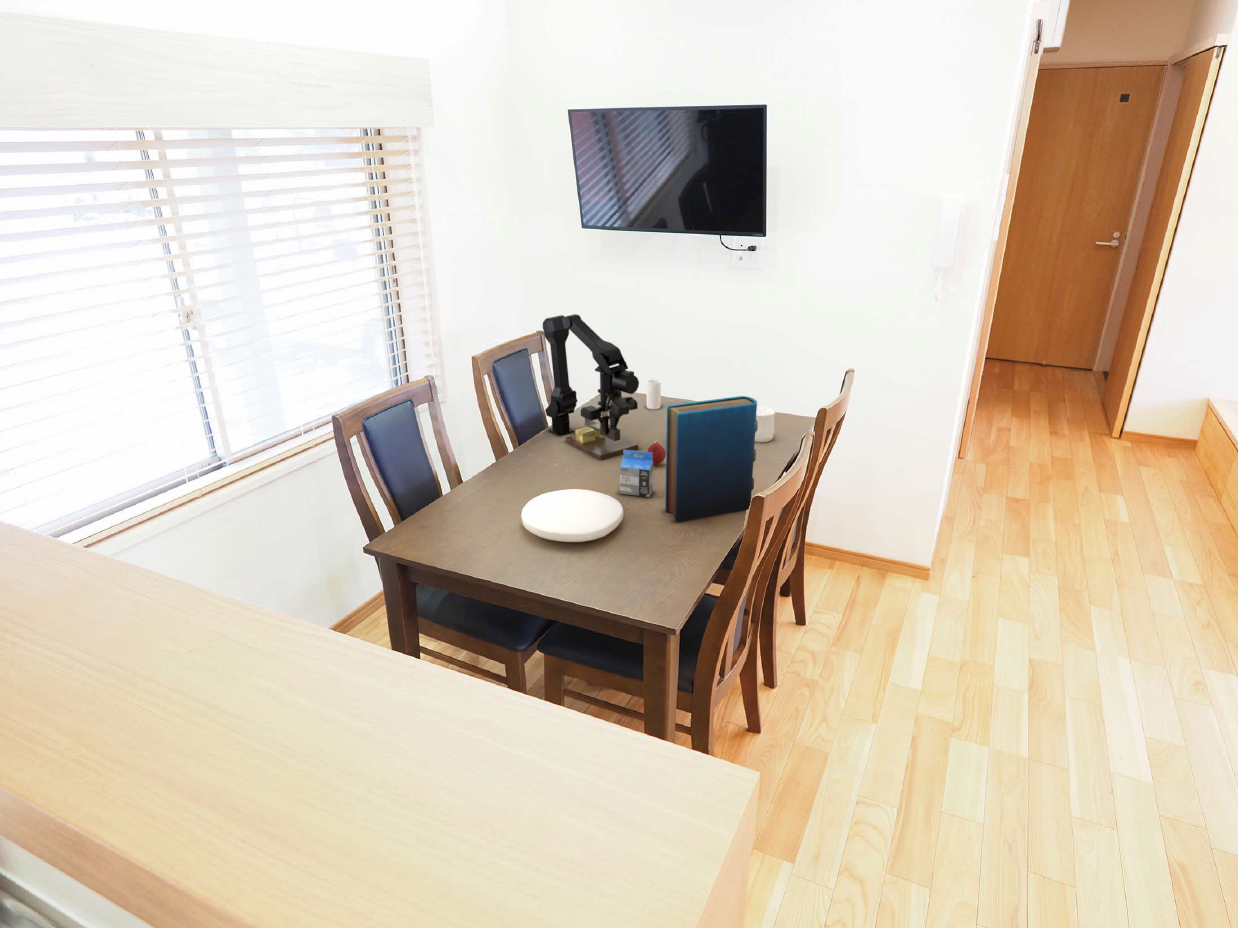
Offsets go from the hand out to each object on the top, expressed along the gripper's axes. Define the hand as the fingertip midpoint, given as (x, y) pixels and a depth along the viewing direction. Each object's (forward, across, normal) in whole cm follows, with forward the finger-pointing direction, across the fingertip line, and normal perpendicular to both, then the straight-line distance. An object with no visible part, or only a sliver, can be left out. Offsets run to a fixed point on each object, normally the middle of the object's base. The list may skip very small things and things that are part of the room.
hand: (609, 433), depth 252 cm
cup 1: (+6, +38, +24) cm, 45 cm away
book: (+6, -4, -51) cm, 52 cm away
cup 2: (+6, +46, -22) cm, 51 cm away
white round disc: (+6, -38, -36) cm, 53 cm away
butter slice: (+4, +2, +9) cm, 10 cm away
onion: (+6, +4, -19) cm, 20 cm away
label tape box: (+6, -14, -31) cm, 34 cm away
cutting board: (+6, 0, +5) cm, 7 cm away
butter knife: (+1, 0, +4) cm, 4 cm away
